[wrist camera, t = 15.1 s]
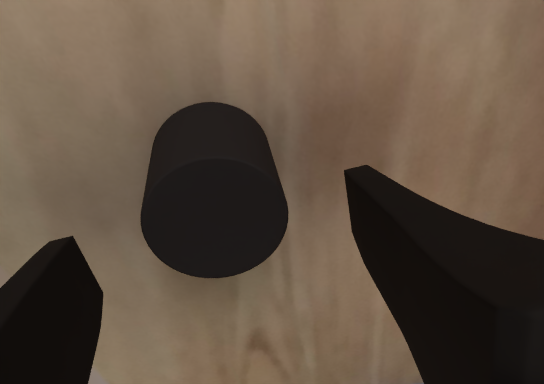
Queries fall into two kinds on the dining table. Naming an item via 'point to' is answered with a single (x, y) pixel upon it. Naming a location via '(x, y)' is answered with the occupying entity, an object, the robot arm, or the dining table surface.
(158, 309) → the dining table surface
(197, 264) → the dot
